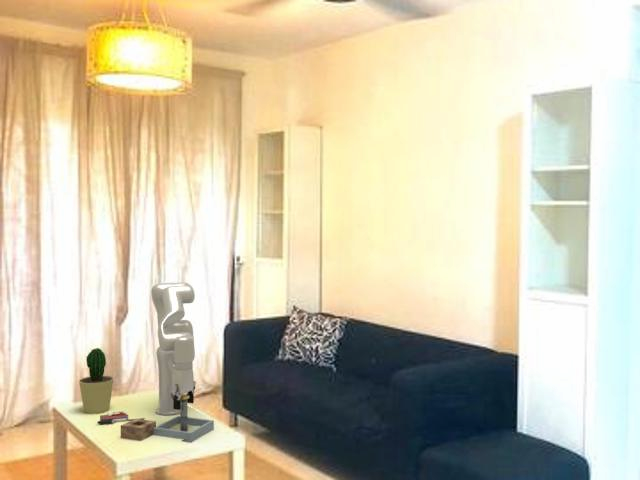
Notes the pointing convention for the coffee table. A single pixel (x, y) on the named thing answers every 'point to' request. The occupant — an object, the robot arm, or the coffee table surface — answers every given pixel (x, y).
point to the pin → (184, 413)
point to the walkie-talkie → (114, 418)
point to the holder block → (137, 429)
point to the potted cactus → (96, 384)
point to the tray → (187, 436)
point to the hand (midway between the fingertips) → (183, 406)
